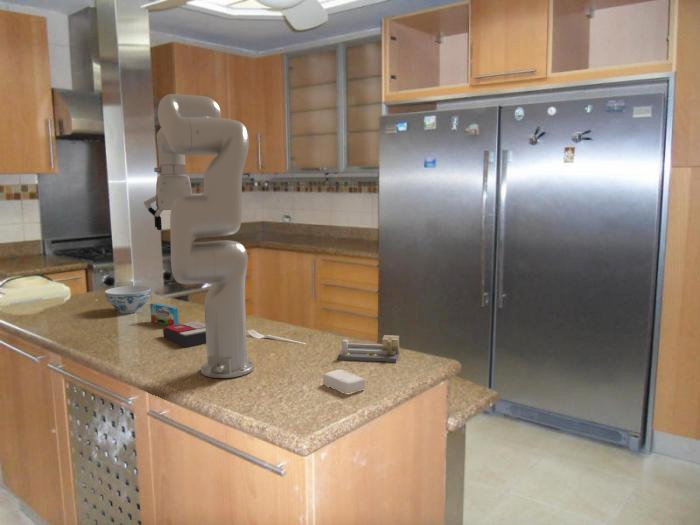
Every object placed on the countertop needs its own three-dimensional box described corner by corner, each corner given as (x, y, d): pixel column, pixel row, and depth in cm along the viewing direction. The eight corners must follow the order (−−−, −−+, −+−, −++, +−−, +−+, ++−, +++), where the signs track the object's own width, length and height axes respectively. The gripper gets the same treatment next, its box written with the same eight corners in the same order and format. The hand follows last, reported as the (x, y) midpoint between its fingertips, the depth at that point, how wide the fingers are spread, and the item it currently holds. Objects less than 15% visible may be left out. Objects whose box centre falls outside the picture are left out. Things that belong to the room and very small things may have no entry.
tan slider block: (396, 356, 148) (396, 342, 147) (381, 355, 149) (381, 342, 148) (399, 348, 154) (399, 335, 154) (384, 347, 155) (384, 335, 155)
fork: (302, 348, 162) (302, 341, 162) (246, 337, 172) (246, 331, 172) (309, 345, 165) (309, 338, 165) (253, 334, 175) (252, 328, 174)
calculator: (197, 320, 179) (220, 326, 167) (198, 333, 179) (221, 341, 168) (162, 326, 172) (183, 333, 160) (163, 340, 172) (185, 349, 161)
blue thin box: (178, 326, 184) (177, 307, 183) (174, 327, 183) (173, 308, 182) (155, 321, 191) (153, 302, 190) (151, 322, 190) (150, 303, 189)
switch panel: (396, 362, 147) (396, 345, 146) (337, 359, 149) (337, 342, 149) (399, 351, 156) (399, 335, 155) (344, 349, 158) (343, 333, 157)
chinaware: (135, 304, 216) (134, 284, 214) (160, 310, 207) (159, 288, 206) (97, 312, 204) (96, 290, 202) (122, 318, 195) (121, 295, 194)
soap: (321, 385, 132) (321, 373, 131) (340, 380, 135) (340, 367, 135) (347, 397, 125) (347, 383, 124) (366, 391, 128) (366, 377, 128)
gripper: (145, 171, 166) (148, 231, 168) (205, 171, 174) (207, 228, 177) (139, 171, 172) (143, 229, 174) (197, 171, 181) (200, 226, 183)
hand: (175, 229), depth 176 cm, fingers open, 9 cm apart
